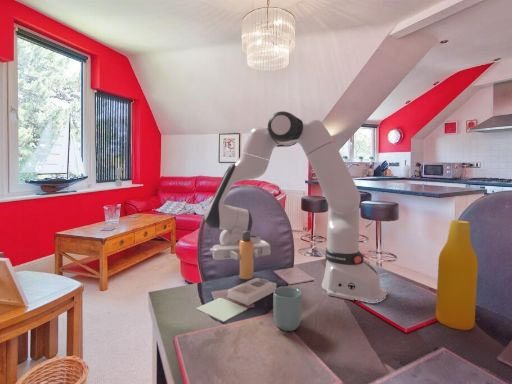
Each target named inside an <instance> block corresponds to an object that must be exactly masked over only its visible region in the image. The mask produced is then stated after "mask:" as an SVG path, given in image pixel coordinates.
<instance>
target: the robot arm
mask: <svg viewBox="0 0 512 384" xmlns="http://www.w3.org/2000/svg"><path fill="white" fill-rule="evenodd" d="M297 144H299V145H300V147H301V148H302V150H303V152H304V154H305V156H306V159H307V160H308V162H309V164H310V166H311V169H312V171H313V172H314V175H315V176H316V179H317V181H318V184H319V187H320V189H321V192H322V194H323V196H324V199H325V200H326V203H327V205H328V216H327V227H326V229H327V232H326V233H327V235H326V237H327V239H326V248H325V257H324V258H325V268H324V274H323V280H322V283H321V287H322V289H323V290H324V291H326V294H327V295H328V296H332V297H335V298H340V299H345V300H351V301H354V299H357V300H363V301H368V302H377V301H380V300H382V299H384V298H385V297H386V295H387V296H388V291H386V290H387V289H386V288H384V289H385V290H384V289H383V287H381V281H380V277H379V275H378V274H377V273H376V272H375V271H374V270H373V269H371V268H370V267H369V266H368V264H366V263H365V262H364V261H365V259H364V258H365V257H366V253H363V254H362V253H361V251H360V249H359V246H360V245H359V242H360V240H359V239H360V237H359V236H360V203H361V193H360V190H359V189H358V187H357V185H356V183H355V181H354V179H353V177H352V175H351V173H350V171H349V168H348V166H347V164H346V163H345V160H344V159H343V157H342V155H341V152H340V150H339V149H338V147H337V145H336V143H335V141H334V139H333V137H332V135H331V133H330V132H329V130H328V129H327V128H326V126H325V125H324V124H323V122H322V121H320V119H319V120H318V119H311V120H308V121H305V122H303V120H302V119H300V118H298V117H297V116H296V115H294V114H292V113H290V112H289V111H277V112H275V113H274V114H272V115H271V117H269V120H268V122H267V127H254V128H252V129H251V130H250V132H249V133H248V136H247V138H246V140H245V143H244V146H243V148H242V151H241V155H240V157H239V158H238V159H237V160H236V162H234V163H230V165H229V166H228V167H227V169H226V171H225V172H224V174H223V177H222V179H221V180H220V182H219V185H218V187H217V188H216V190H215V193H214V195H213V198H212V199H211V200H210V203H209V204H208V206H207V208H206V210H205V212H204V217H203V220H204V223H205V224H206V225H207V226H208V228H210V229H216V230H219V229H220V230H222V231H221V232H220V235H219V244H214V245H213V246H212V247H211V248H209V251H210V253H212V259H213V260H216V261H219V260H230V259H233V260H236V261H238V260H239V261H240V259H241V258H240V257H241V255H240V240H242V232H243V231H250V232H251V230H252V227H253V216H252V214H251V212H250V211H249V209H245V208H242V207H238V206H233V205H229V204H225V201H226V198H227V197H228V195H229V192H230V190H231V188H232V187H233V185H234V184H236V183H239V182H241V181H247V180H254V179H257V178H260V177H262V176H263V175H264V174H265V173H266V171H267V169H268V167H269V164H270V159H271V156H272V154H273V151H274V149H275V148H276V147H277V148H279V147H282V148H283V147H285V148H287V147H292V146H294V145H297ZM250 239H251V240H253V259H258V257H263V256H264V257H265V256H269V255H271V244H270V243H269V242H267V241H266V240H264V239H261V237H260V236H257V235H250ZM382 291H386V292H382ZM386 298H387V297H386ZM376 299H378V300H376Z"/></svg>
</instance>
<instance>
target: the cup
mask: <svg viewBox="0 0 512 384" xmlns="http://www.w3.org/2000/svg"><path fill="white" fill-rule="evenodd" d="M272 300H273V301H272V302H273V303H272V307H273V308H272V311H273V313H272V314H273V321H274V323H275V326H276V327H277V328H278V329H280V330H281V331H283V330H284V332H293V331H295V330H296V329H298V328H299V326H300V324H301V321H302V320H301V319H302V314H303V292H302V290H301V289H300V288H297V287H295V286H286V285H285V286H284V285H283V286H279V287H276V289H275V290H274V292H273V296H272Z"/></svg>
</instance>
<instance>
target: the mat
mask: <svg viewBox="0 0 512 384" xmlns="http://www.w3.org/2000/svg"><path fill="white" fill-rule="evenodd" d="M195 309H196V310H197V311H199V312H201V313H203V314H206V315H207V316H210V317H211V318H214V319H216V320H218V321H221V322H223V323H225V322H227V321H229V320H230V319H233V318H234V317H236V316H238V315H239V314H240V315H241V314H242V313H243V312H245V311H247V310H248V307H245V306H242V305H240V304H237V303H234V302H232V301H230V300H228V299H224V298H222V297H218V298H216V299H214V300H211V301H209V302H207V303H204V304H203V305H201V306H198V307H196V308H195Z"/></svg>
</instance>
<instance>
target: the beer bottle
mask: <svg viewBox="0 0 512 384" xmlns="http://www.w3.org/2000/svg"><path fill="white" fill-rule="evenodd" d="M470 228H471V227H470V221H466V220H457V219H456V220H455V219H454V220H453V219H451V220H450V224H449V230H448V235H447V238H446V239H447V240H446V242H445V244H444V246H443V247H442V249H441V251H440V253H439V255H438V260H437V261H438V263H437V264H438V265H437V283H436V285H437V286H436V305H435V317H436V320H437V321H438V322H439V323H440V324H442V325H444V326H446V327H448V328H452V329H455V330H459V331H460V330H461V331H469V330H472V329H473V328H474V326H475V323H476V322H475V321H476V301H477V300H476V299H477V285H478V270H479V264H478V263H479V262H478V257H477V255H476V252H475V250H474V248H473V246H472V242H471V241H472V240H471V229H470Z"/></svg>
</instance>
